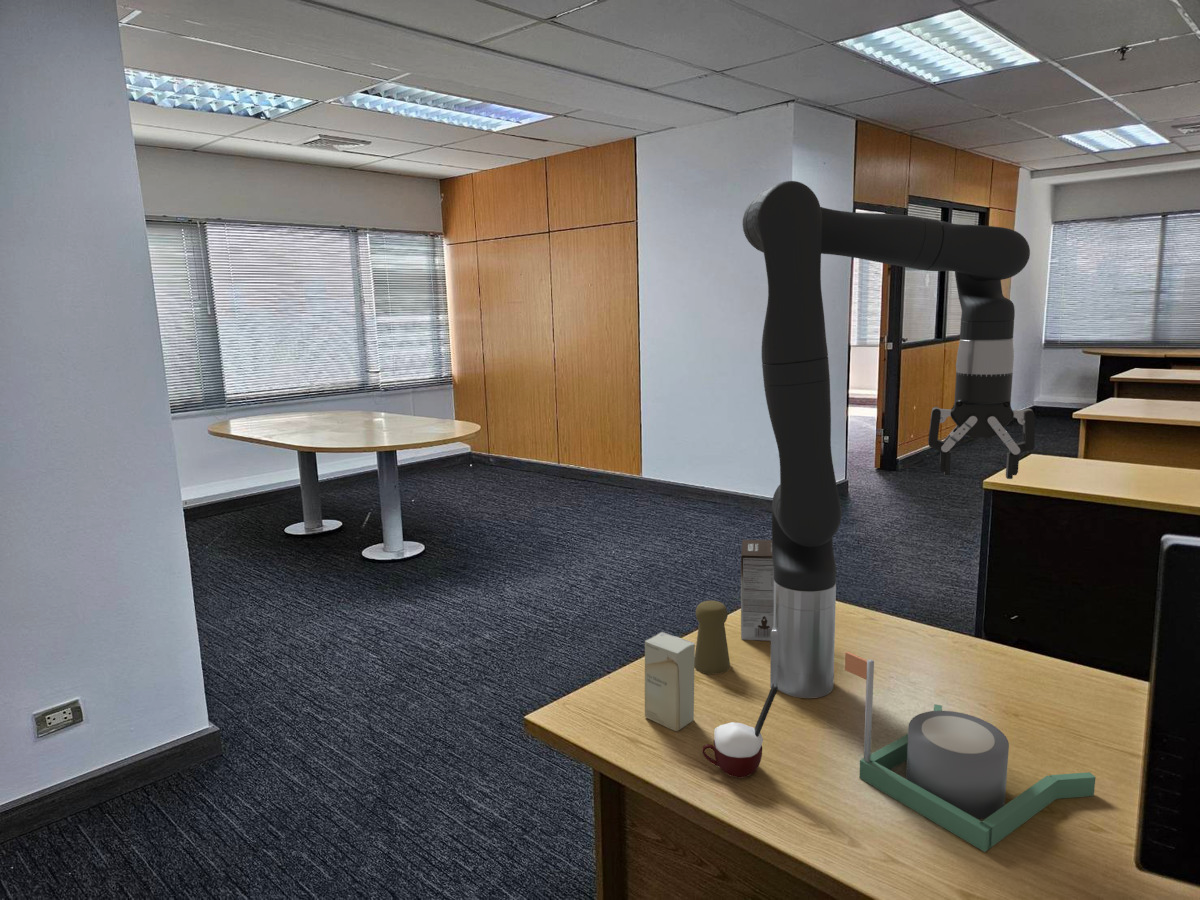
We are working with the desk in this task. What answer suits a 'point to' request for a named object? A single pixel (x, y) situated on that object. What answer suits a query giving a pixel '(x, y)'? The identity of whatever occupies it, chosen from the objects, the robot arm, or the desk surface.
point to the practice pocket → (937, 809)
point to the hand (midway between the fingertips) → (977, 476)
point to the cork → (711, 638)
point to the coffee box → (757, 590)
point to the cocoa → (740, 744)
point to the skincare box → (669, 680)
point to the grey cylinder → (959, 760)
